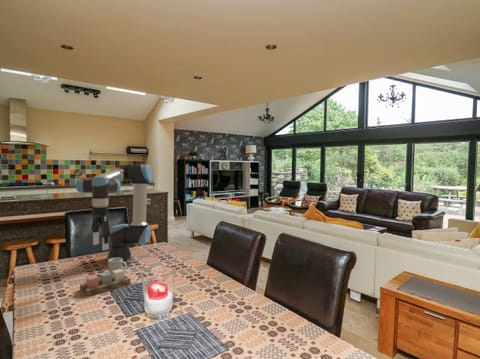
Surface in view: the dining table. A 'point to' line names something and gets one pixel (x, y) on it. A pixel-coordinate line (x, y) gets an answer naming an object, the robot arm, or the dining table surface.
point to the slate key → (105, 278)
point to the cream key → (118, 274)
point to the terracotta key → (92, 281)
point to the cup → (116, 264)
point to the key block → (104, 286)
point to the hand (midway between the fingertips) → (100, 247)
